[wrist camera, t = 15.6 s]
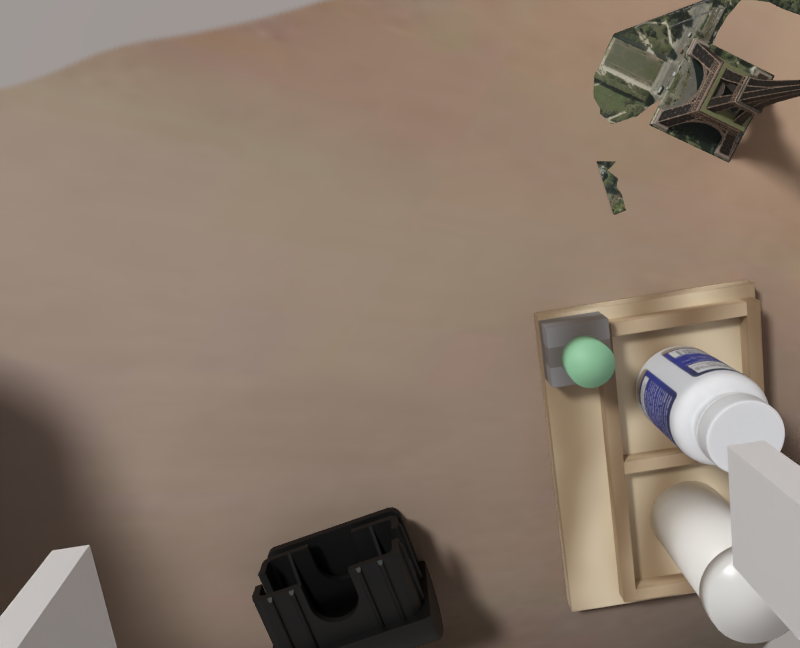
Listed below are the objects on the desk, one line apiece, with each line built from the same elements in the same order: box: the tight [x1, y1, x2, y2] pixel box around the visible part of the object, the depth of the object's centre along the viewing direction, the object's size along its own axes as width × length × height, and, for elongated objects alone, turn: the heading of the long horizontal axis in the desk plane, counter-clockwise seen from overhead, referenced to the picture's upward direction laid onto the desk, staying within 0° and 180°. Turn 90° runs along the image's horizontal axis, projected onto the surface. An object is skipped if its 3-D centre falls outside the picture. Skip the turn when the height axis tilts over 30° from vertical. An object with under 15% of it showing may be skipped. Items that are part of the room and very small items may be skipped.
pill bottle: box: [635, 346, 785, 472], centre depth 42 cm, size 5×5×9 cm
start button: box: [561, 335, 615, 388], centre depth 43 cm, size 3×3×4 cm
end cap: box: [252, 507, 443, 648], centre depth 46 cm, size 10×7×7 cm
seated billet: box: [650, 481, 789, 643], centre depth 44 cm, size 5×5×9 cm
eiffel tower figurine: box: [594, 0, 800, 214], centre depth 37 cm, size 15×10×13 cm
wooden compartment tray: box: [534, 280, 764, 612], centre depth 47 cm, size 13×20×3 cm, turn 9°
